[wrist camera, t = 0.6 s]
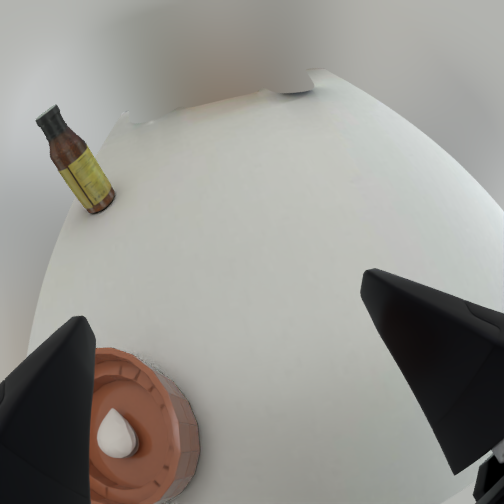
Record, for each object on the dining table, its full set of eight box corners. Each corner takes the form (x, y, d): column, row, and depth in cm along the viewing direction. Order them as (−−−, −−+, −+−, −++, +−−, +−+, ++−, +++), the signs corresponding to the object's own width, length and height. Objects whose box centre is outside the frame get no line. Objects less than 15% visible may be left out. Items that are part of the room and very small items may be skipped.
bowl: (209, 514, 14) (190, 527, 11) (74, 486, 15) (44, 485, 11) (195, 358, 24) (176, 342, 20) (75, 363, 24) (49, 348, 21)
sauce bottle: (118, 186, 45) (71, 93, 29) (113, 208, 41) (56, 106, 25) (90, 198, 44) (41, 112, 29) (83, 220, 41) (24, 128, 25)
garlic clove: (110, 458, 17) (94, 457, 15) (103, 412, 20) (87, 407, 18) (147, 457, 17) (133, 457, 16) (137, 407, 21) (123, 403, 19)
